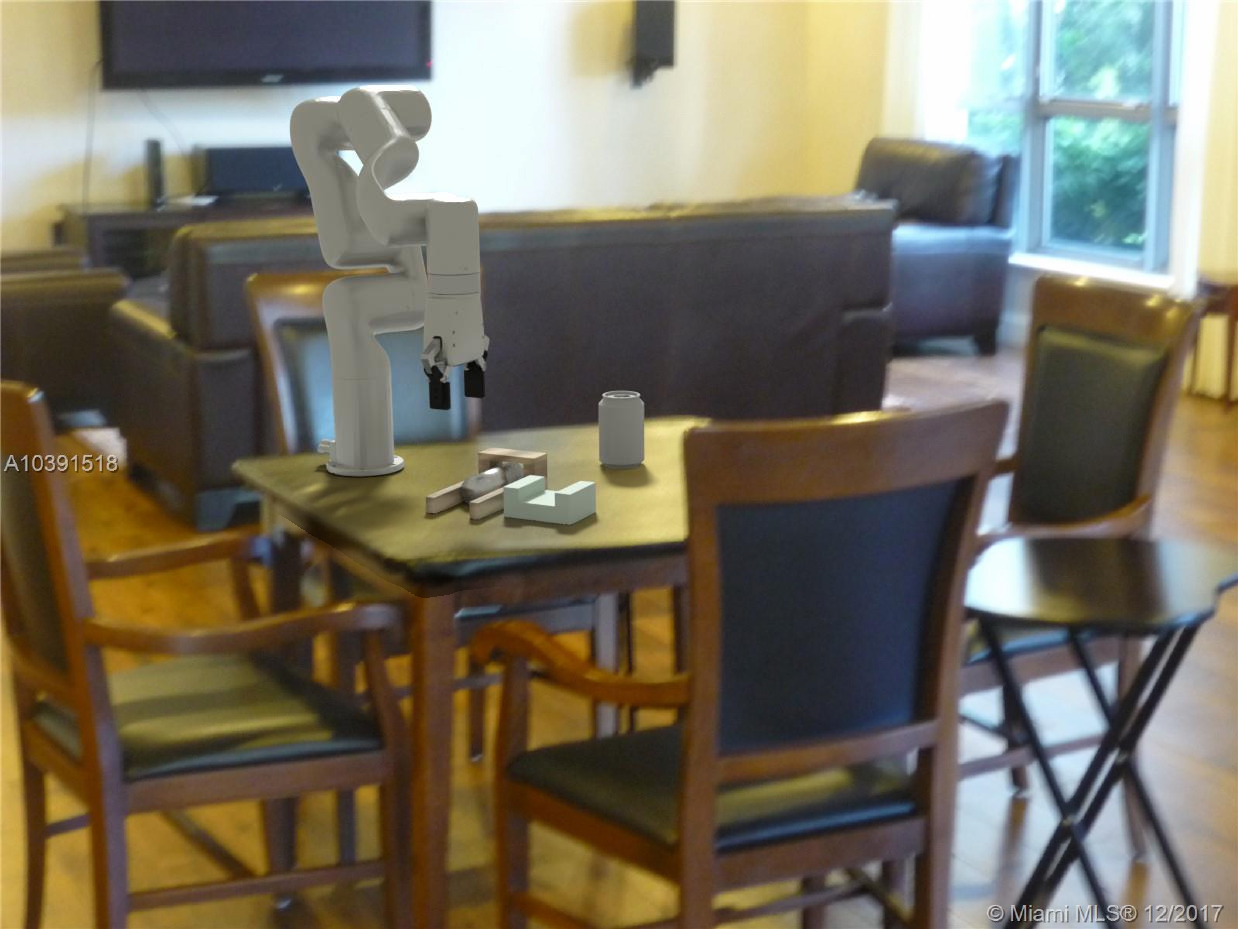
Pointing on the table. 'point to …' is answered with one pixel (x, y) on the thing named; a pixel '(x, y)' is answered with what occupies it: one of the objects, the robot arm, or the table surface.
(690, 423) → the table surface
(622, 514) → the table surface
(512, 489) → the v block
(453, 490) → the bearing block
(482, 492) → the axle
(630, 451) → the can
